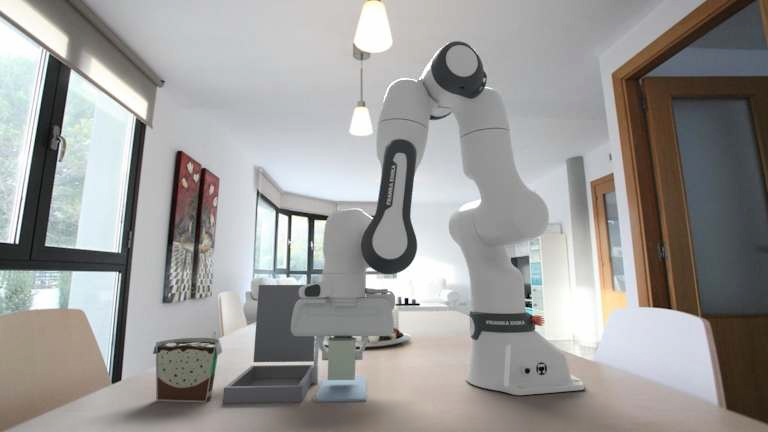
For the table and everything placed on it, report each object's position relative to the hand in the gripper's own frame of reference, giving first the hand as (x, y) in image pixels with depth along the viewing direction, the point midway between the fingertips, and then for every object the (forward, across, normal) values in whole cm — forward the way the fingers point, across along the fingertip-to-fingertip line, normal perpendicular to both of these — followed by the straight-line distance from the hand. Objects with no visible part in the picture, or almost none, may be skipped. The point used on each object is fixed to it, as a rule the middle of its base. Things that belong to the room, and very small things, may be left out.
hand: (342, 359), depth 75 cm
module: (+3, 0, 0) cm, 3 cm away
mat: (+6, 0, 0) cm, 6 cm away
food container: (+6, +27, +3) cm, 28 cm away
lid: (-6, +13, -10) cm, 18 cm away
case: (+6, +13, -1) cm, 14 cm away
